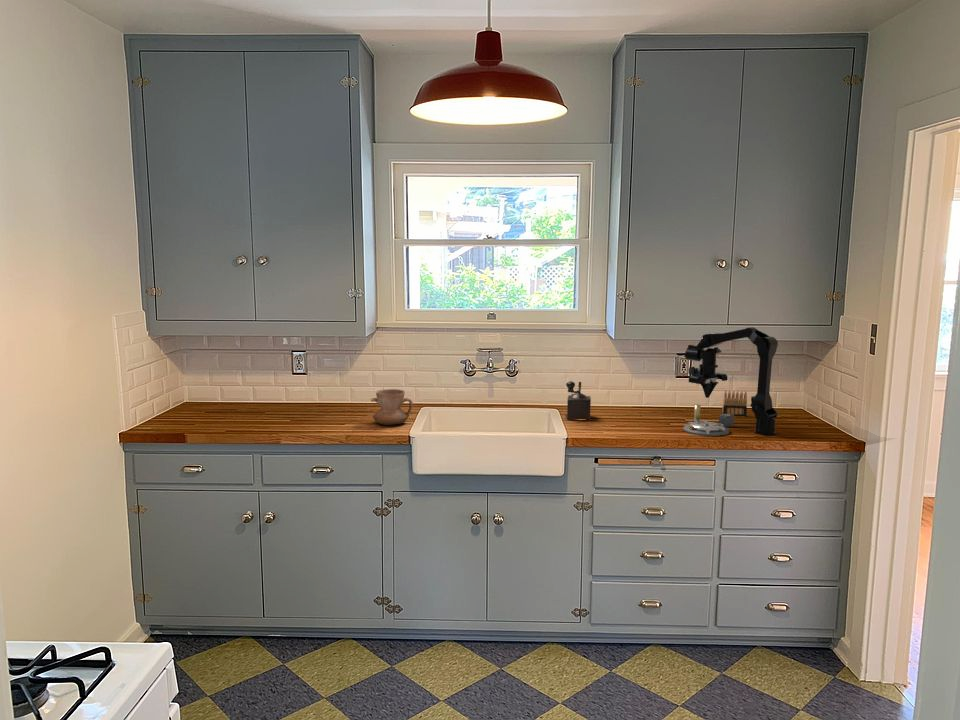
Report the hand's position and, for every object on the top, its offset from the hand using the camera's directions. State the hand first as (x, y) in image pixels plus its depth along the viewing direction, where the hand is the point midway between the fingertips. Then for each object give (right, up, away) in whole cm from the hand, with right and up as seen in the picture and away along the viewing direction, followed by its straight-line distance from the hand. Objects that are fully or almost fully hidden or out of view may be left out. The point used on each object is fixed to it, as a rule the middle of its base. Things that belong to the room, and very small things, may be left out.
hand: (707, 397), depth 303 cm
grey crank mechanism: (-5, -11, -12) cm, 17 cm away
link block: (+7, -12, -5) cm, 15 cm away
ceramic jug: (-137, -11, -3) cm, 138 cm away
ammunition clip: (+17, -9, +14) cm, 24 cm away
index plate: (-5, -13, -14) cm, 20 cm away
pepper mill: (-56, -10, +7) cm, 57 cm away
